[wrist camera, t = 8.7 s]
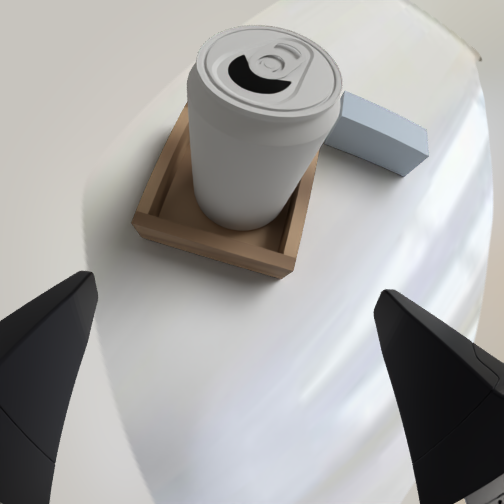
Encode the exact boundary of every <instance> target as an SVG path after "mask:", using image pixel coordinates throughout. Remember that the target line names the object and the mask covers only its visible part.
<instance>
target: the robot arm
mask: <svg viewBox="0 0 504 504" xmlns="http://www.w3.org/2000/svg"><path fill="white" fill-rule="evenodd" d="M97 301H98V292H97V288H96V283H95V278H94V274H93V273H92V272H90V271H79V272H77V273H76V274H74V275H72V276H70V277H69V278H67V279H65V280H64V281H62V282H60V283H59V284H57V285H56V286H54V287H52V288H51V289H49V290H48V291H46V292H44V293H43V294H41V295H40V296H38V297H36V298H35V299H33V300H32V301H30V302H28V303H27V304H25V305H24V306H22V307H21V308H20V309H18V310H16V311H15V312H13V313H12V314H10V315H9V316H7V317H6V318H4V319H3V320H1V321H0V504H49V501H50V494H51V486H52V480H53V474H54V468H55V464H54V463H55V462H56V457H57V452H58V447H59V442H60V438H61V433H62V429H63V425H64V421H65V417H66V413H67V409H68V405H69V401H70V397H71V394H72V391H73V387H74V384H75V380H76V377H77V374H78V371H79V367H80V364H81V361H82V358H83V355H84V352H85V349H86V346H87V343H88V339H89V334H90V330H91V325H92V321H93V317H94V313H95V309H96V305H97ZM374 319H375V324H376V328H377V332H378V337H379V341H380V346H381V350H382V354H383V358H384V361H385V364H386V367H387V371H388V374H389V377H390V380H391V384H392V387H393V391H394V394H395V397H396V401H397V405H398V408H399V412H400V415H401V419H402V423H403V427H404V431H405V435H406V439H407V443H408V447H409V451H410V456H411V460H412V463H413V464H412V465H413V470H414V475H415V480H416V484H417V490H418V495H419V501H420V504H454V503H456V502H458V501H460V500H461V499H463V498H464V499H465V502H466V504H504V363H502V362H501V361H499V360H497V359H496V358H495V357H493V356H491V355H490V354H489V353H487V352H486V351H484V350H483V349H481V348H480V347H479V346H477V345H476V344H474V343H472V342H471V341H470V340H469V339H467V338H466V337H464V336H463V335H462V334H460V333H459V332H457V331H456V330H454V329H453V328H451V327H450V326H448V325H447V324H446V323H444V322H443V321H441V320H440V319H438V318H437V317H435V316H434V315H432V314H431V313H429V312H428V311H426V310H425V309H423V308H422V307H420V306H419V305H417V304H416V303H414V302H413V301H411V300H410V299H408V298H407V297H405V296H404V295H402V294H401V293H399V292H397V291H396V290H391V289H385V290H383V291H382V292H381V294H380V297H379V299H378V301H377V304H376V306H375V308H374Z"/></svg>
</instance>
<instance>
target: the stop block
mask: <svg viewBox="0 0 504 504" xmlns="http://www.w3.org/2000/svg"><path fill="white" fill-rule="evenodd" d="M324 144H326V145H329V146H332V147H334V148H337V149H340V150H342V151H345V152H347V153H350V154H352V155H355V156H357V157H360V158H362V159H365V160H367V161H369V162H372V163H374V164H376V165H379V166H381V167H383V168H386V169H388V170H390V171H392V172H395V173H397V174H399V175H401V176H403V177H405V176H406V175H407V174H408V173H409V172H411V171H412V170H413V169H414V168H415V167H417V166H418V165H419V164H420V163H421V162H423V161H424V160H425V159H426V158H427V157H428V156H429V150H428V137H427V129H425V128H423V127H421V126H419V125H417V124H416V123H414V122H412V121H410V120H408V119H406V118H404V117H402V116H400V115H398V114H396V113H394V112H392V111H390V110H388V109H386V108H384V107H381V106H379V105H377V104H375V103H373V102H370V101H368V100H366V99H364V98H361V97H359V96H356V95H354V94H352V93H349V92H347V91H344V93H343V95H342V97H341V98H340V112H339V116H338V118H337V121H336V122H335V124H334V126H333V127H332V129H331V130H330V132H329V134H328V135H327V137H326V139H325V143H324Z"/></svg>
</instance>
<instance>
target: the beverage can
mask: <svg viewBox="0 0 504 504" xmlns="http://www.w3.org/2000/svg"><path fill="white" fill-rule="evenodd" d="M342 86H343V80H342V75H341V72H340V69H339V67H338V65H337V64H336V62H335V61H334V59H333V58H332V57H331V56H330V55H329V54H328V53H327V52H326V51H325V50H324V49H323V48H322V47H321V46H319V45H318V44H317V43H315V42H313V41H312V40H310V39H308V38H307V37H304V36H302V35H300V34H298V33H295V32H293V31H290V30H286V29H283V28H278V27H273V26H265V25H247V26H239V27H234V28H230V29H227V30H224V31H222V32H220V33H217V34H216V35H214V36H213V37H211V38H210V39H208V40H207V41H206V42H205V43H204V44H203V46H202V47H201V48H200V50H199V52H198V55H197V59H196V63H195V64H194V66H193V67H192V69H191V71H190V73H189V76H188V80H187V100H188V118H189V134H190V148H191V161H192V174H193V185H194V194H195V197H196V200H197V203H198V205H199V207H200V209H201V210H202V212H203V213H204V214H205V215H206V216H207V217H208V218H209V219H210V220H212V221H213V222H214V223H216V224H218V225H220V226H222V227H224V228H227V229H231V230H238V231H247V230H253V229H257V228H260V227H263V226H265V225H267V224H268V223H270V222H271V221H273V220H274V219H275V218H276V217H277V216H278V215H279V213H280V212H281V210H282V209H283V207H284V205H285V204H286V202H287V201H288V199H289V197H290V196H291V194H292V192H293V191H294V189H295V188H296V186H297V184H298V183H299V181H300V179H301V178H302V176H303V175H304V173H305V171H306V170H307V168H308V166H309V165H310V163H311V161H312V160H313V158H314V157H315V155H316V153H317V152H318V150H319V148H320V147H321V145H322V144H323V142H324V140H325V139H326V137H327V135H328V134H329V132H330V130H331V129H332V127H333V126H334V124H335V122H336V121H337V118H338V116H339V112H340V94H341V91H342Z"/></svg>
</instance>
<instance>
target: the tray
mask: <svg viewBox="0 0 504 504" xmlns="http://www.w3.org/2000/svg"><path fill="white" fill-rule="evenodd" d="M319 149H320V148H319ZM318 154H319V150H318V152H317V153H316V155H315V157H314V158H313V160H312V161H311V163H310V165H309V166H308V168H307V170H306V171H305V173H304V175H303V176H302V178H301V179H300V181H299V183H298V184H297V186H296V188H295V189H294V191H293V192H292V194H291V196H290V197H289V199H288V201H287V202H286V204H285V205H284V207H283V209H282V210H281V212H280V213H279V215H278V216H277V217H276V218H275V219H274V220H273V221H271V222H270V223H268V224H267V225H265V226H263V227H260V228H257V229H253V230H247V231H238V230H231V229H227V228H224V227H222V226H220V225H218V224H216V223H214V222H213V221H212V220H210V219H209V218H208V217H207V216H206V215H205V214H204V213H203V212H202V210H201V209H200V207H199V205H198V203H197V200H196V197H195V194H194V185H193V174H192V161H191V148H190V134H189V118H188V101H187V103H186V105H185V107H184V109H183V110H182V112H181V114H180V116H179V118H178V120H177V122H176V124H175V126H174V128H173V130H172V132H171V134H170V136H169V138H168V140H167V142H166V144H165V146H164V148H163V150H162V152H161V154H160V156H159V159H158V161H157V163H156V165H155V167H154V170H153V172H152V174H151V176H150V178H149V181H148V183H147V185H146V188H145V190H144V192H143V195H142V197H141V200H140V202H139V204H138V207H137V209H136V212H135V214H134V217H133V219H132V222H131V223H132V225H133V226H134V228H135V229H136V230H137V232H138V233H139V234H140V236H141V237H142V238H145V239H148V240H151V241H155V242H158V243H161V244H164V245H168V246H171V247H174V248H178V249H181V250H184V251H188V252H191V253H194V254H197V255H201V256H204V257H208V258H211V259H214V260H218V261H221V262H224V263H228V264H231V265H235V266H238V267H241V268H245V269H248V270H252V271H255V272H258V273H262V274H265V275H269V276H272V277H276V278H279V279H282V278H284V277H285V276H287V275H288V274H290V273H291V272H293V270H294V266H295V262H296V257H297V253H298V249H299V244H300V240H301V236H302V231H303V227H304V222H305V217H306V213H307V208H308V204H309V199H310V194H311V189H312V184H313V180H314V175H315V170H316V165H317V160H318Z"/></svg>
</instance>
